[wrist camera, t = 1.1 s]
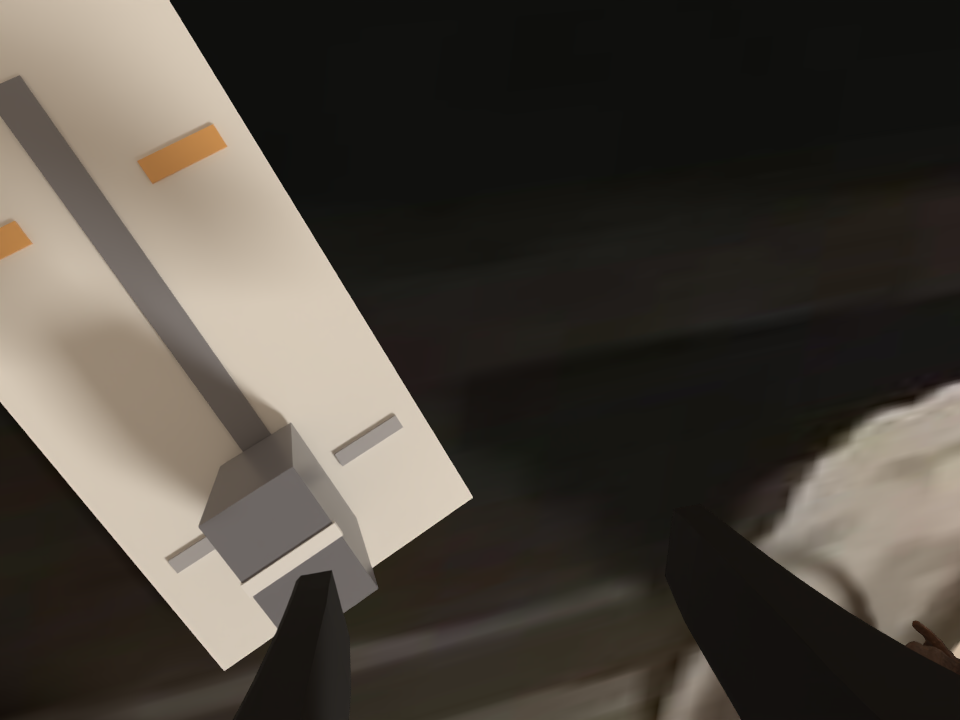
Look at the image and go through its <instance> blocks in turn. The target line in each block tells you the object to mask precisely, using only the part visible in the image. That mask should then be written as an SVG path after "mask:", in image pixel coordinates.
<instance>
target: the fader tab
mask: <svg viewBox="0 0 960 720" xmlns="http://www.w3.org/2000/svg"><path fill="white" fill-rule="evenodd" d="M198 527H199V529H200V530H201V531H202V532H203V534H204V535H205V536H206V537H207V539H208V540H209V541H210V543H211V544H212V545H213V546H214V548H215V549H216V550H217V552H218V553H219V554H220V555H221V557H222V558H223V559H224V561H225V562H226V563H227V564H228V566H229V567H230V568H231V570H232V571H233V572H234V573H235V575H236V576H237V577H238V579H239V580H240V581H241V587H242V589H243V590H244V591H245V592H246V594H247V595H248V596H249V598H251V597H253V598H254V599H255V600H256V602H257V603H258V604H259V606H260V607H261V608H262V609H263V611H264V612H265V613H266V615H267V616H268V617H269V618H270V620H271V621H272V622H273V624H274V625H275V626H276V627H277V629H278V626H279V624H280V622H281V619H282V617H283V614H284V612H285V609H286V607H287V604H288V602H289V599H290V596H291V594H292V591H293V588H294V585H295V583H296V580H297V579H298V578H299V577H300V576H301V575H307V574H312V573H318V572H324V571H329V570H332V572H333V576H334V580H335V584H336V588H337V591H338V595H339V599H340V603H341V607H342V610H343V613H344V612H346V611H347V610H348V609H350V608H351V607H353V606H354V605H356V604H357V603H358V602H360V601H361V600H363V599H364V598H365V597H367V596H368V595H370V594H371V593H373V592H374V591H375V590H377V589H378V586H377V582H376V579H375V576H374V573H373V570H372V566H371V563H370V560H369V557H368V553H367V550H366V547H365V544H364V540H363V537H362V534H361V531H360V528H359V524H358V521H357V518H356V516H355V515H354V514H353V512H352V511H351V509H350V508H349V506H348V505H347V503H346V502H345V500H344V499H343V497H342V496H341V495H340V493H339V492H338V490H337V489H336V487H335V486H334V484H333V483H332V481H331V480H330V478H329V477H328V476H327V474H326V473H325V471H324V470H323V468H322V467H321V465H320V464H319V462H318V461H317V459H316V458H315V457H314V455H313V454H312V452H311V451H310V449H309V448H308V446H307V445H306V443H305V442H304V441H303V439H302V438H301V436H300V435H299V433H298V432H297V430H296V429H295V427H294V426H293V424H292V423H289V424H287V425H286V426H284V427H283V428H281V429H279V430H278V431H276V432H274V433H273V434H271V435H270V436H268V437H266V438H265V439H263V440H262V441H260V442H258V443H257V444H255V445H253V446H252V447H250V448H249V449H247V450H245V451H244V452H242V453H240V454H239V455H237V456H236V457H234V458H232V459H231V460H229V461H228V462H226V463H224V464H223V465H221V466H220V468H219V471H218V473H217V476H216V479H215V482H214V484H213V487H212V490H211V493H210V495H209V498H208V501H207V504H206V506H205V509H204V512H203V515H202V517H201V520H200V523H199V526H198Z"/></svg>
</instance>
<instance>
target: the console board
mask: <svg viewBox="0 0 960 720" xmlns="http://www.w3.org/2000/svg"><path fill="white" fill-rule="evenodd" d="M0 402H1V403H2V404H3V406H4V407H5V408H6V409H7V410H8V412H9V413H10V414H11V415H12V416H13V418H14V419H15V420H16V421H17V422H18V424H19V425H20V426H21V427H22V428H23V430H24V431H25V432H26V433H27V434H28V436H29V437H30V438H31V439H32V441H33V442H34V443H35V444H36V445H37V447H38V448H39V449H40V450H41V451H42V453H43V454H44V455H45V456H46V457H47V459H48V460H49V461H50V462H51V463H52V465H53V466H54V467H55V468H56V469H57V471H58V472H59V473H60V474H61V475H62V477H63V478H64V479H65V480H66V481H67V483H68V484H69V485H70V486H71V487H72V489H73V490H74V491H75V492H76V493H77V495H78V496H79V497H80V498H81V499H82V501H83V502H84V503H85V504H86V505H87V507H88V508H89V509H90V510H91V511H92V513H93V514H94V515H95V516H96V517H97V519H98V520H99V521H100V522H101V523H102V525H103V526H104V527H105V528H106V529H107V531H108V532H109V533H110V534H111V535H112V537H113V538H114V539H115V540H116V541H117V543H118V544H119V545H120V546H121V547H122V549H123V550H124V551H125V552H126V553H127V555H128V556H129V557H130V558H131V560H132V561H133V562H134V563H135V564H136V566H137V567H138V568H139V569H140V570H141V572H142V573H143V574H144V575H145V576H146V578H147V579H148V580H149V581H150V582H151V584H152V585H153V586H154V587H155V588H156V590H157V591H158V592H159V593H160V594H161V596H162V597H163V598H164V599H165V600H166V602H167V603H168V604H169V605H170V606H171V608H172V609H173V610H174V611H175V612H176V614H177V615H178V616H179V617H180V618H181V620H182V621H183V622H184V623H185V624H186V626H187V627H188V628H189V629H190V630H191V632H192V633H193V634H194V635H195V636H196V638H197V639H198V640H199V641H200V642H201V644H202V645H203V646H204V647H205V648H206V650H207V651H208V652H209V653H210V654H211V656H212V657H213V658H214V659H215V660H216V662H217V663H218V664H219V665H220V666H221V668H222V669H223V670H224V671H225V670H226V669H228V668H229V667H231V666H232V665H233V664H235V663H236V662H238V661H239V660H241V659H242V658H244V657H245V656H246V655H248V654H249V653H251V652H252V651H254V650H255V649H256V648H258V647H259V646H261V645H262V644H264V643H265V642H266V641H268V640H269V639H271V638H272V637H274V635H275V633H276V631H277V627H276V626H275V625H274V624H273V622H272V621H271V620H270V618H269V617H268V616H267V615H266V613H265V612H264V611H263V609H262V608H261V607H260V606H259V604H258V603H257V602H256V600H255V599H254V598H253V597H251V598H249V596H248V595H247V594H246V592H245V591H244V590H243V589H242V587H241V581H240V580H239V579H238V577H237V576H236V575H235V573H234V572H233V571H232V570H231V568H230V567H229V566H228V564H227V563H226V562H225V561H224V559H223V558H222V557H221V555H220V554H219V553H218V552H217V550H216V549H215V548H214V546H213V545H212V544H211V543H210V541H209V540H208V539H207V537H206V536H205V535H204V534H203V532H202V531H201V530H200V529H199V527H198V526H199V523H200V520H201V517H202V515H203V512H204V509H205V506H206V504H207V501H208V498H209V495H210V493H211V490H212V487H213V484H214V482H215V479H216V476H217V473H218V471H219V468H220V466H221V465H223V464H224V463H226V462H228V461H229V460H231V459H232V458H234V457H236V456H237V455H239V454H240V453H242V452H244V451H245V450H247V449H249V448H250V447H252V446H253V445H255V444H257V443H258V442H260V441H262V440H263V439H265V438H266V437H268V436H270V435H271V434H273V433H274V432H276V431H278V430H279V429H281V428H283V427H284V426H286V425H287V424H289V423H292V424H293V426H294V427H295V429H296V430H297V432H298V433H299V435H300V436H301V438H302V439H303V441H304V442H305V443H306V445H307V446H308V448H309V449H310V451H311V452H312V454H313V455H314V457H315V458H316V459H317V461H318V462H319V464H320V465H321V467H322V468H323V470H324V471H325V473H326V474H327V476H328V477H329V478H330V480H331V481H332V483H333V484H334V486H335V487H336V489H337V490H338V492H339V493H340V495H341V496H342V497H343V499H344V500H345V502H346V503H347V505H348V506H349V508H350V509H351V511H352V512H353V514H354V515H355V516H356V518H357V521H358V524H359V528H360V531H361V534H362V537H363V540H364V544H365V547H366V550H367V553H368V557H369V560H370V563H371V566H372V568H373V567H374V566H375V565H377V564H378V563H380V562H381V561H383V560H384V559H385V558H387V557H388V556H390V555H391V554H393V553H394V552H395V551H397V550H398V549H400V548H401V547H403V546H404V545H406V544H407V543H408V542H410V541H411V540H413V539H414V538H416V537H417V536H418V535H420V534H421V533H423V532H424V531H426V530H427V529H428V528H430V527H431V526H433V525H434V524H436V523H437V522H438V521H440V520H441V519H443V518H444V517H446V516H447V515H449V514H450V513H451V512H453V511H454V510H456V509H457V508H459V507H460V506H461V505H463V504H464V503H466V502H467V501H469V500H470V499H471V498H473V497H472V495H471V493H470V492H469V490H468V488H467V487H466V485H465V483H464V482H463V480H462V479H461V477H460V475H459V474H458V472H457V470H456V469H455V467H454V465H453V464H452V462H451V461H450V459H449V457H448V456H447V454H446V452H445V451H444V449H443V448H442V446H441V444H440V443H439V441H438V439H437V438H436V436H435V434H434V433H433V431H432V430H431V428H430V426H429V425H428V423H427V421H426V420H425V418H424V416H423V415H422V413H421V412H420V410H419V408H418V407H417V405H416V403H415V402H414V400H413V398H412V397H411V395H410V394H409V392H408V390H407V389H406V387H405V385H404V384H403V382H402V380H401V379H400V377H399V376H398V374H397V372H396V371H395V369H394V367H393V366H392V364H391V363H390V361H389V359H388V358H387V356H386V354H385V353H384V351H383V349H382V348H381V346H380V345H379V343H378V341H377V340H376V338H375V336H374V335H373V333H372V331H371V330H370V328H369V327H368V325H367V323H366V322H365V320H364V318H363V317H362V315H361V313H360V312H359V310H358V309H357V307H356V305H355V304H354V302H353V300H352V299H351V297H350V295H349V294H348V292H347V291H346V289H345V287H344V286H343V284H342V282H341V281H340V279H339V278H338V276H337V274H336V273H335V271H334V269H333V268H332V266H331V264H330V263H329V261H328V260H327V258H326V256H325V255H324V253H323V251H322V250H321V248H320V246H319V245H318V243H317V242H316V240H315V238H314V237H313V235H312V233H311V232H310V230H309V228H308V227H307V225H306V224H305V222H304V220H303V219H302V217H301V215H300V214H299V212H298V210H297V209H296V207H295V206H294V204H293V202H292V201H291V199H290V197H289V196H288V194H287V192H286V191H285V189H284V188H283V186H282V184H281V183H280V181H279V179H278V178H277V176H276V175H275V173H274V171H273V170H272V168H271V166H270V165H269V163H268V161H267V160H266V158H265V157H264V155H263V153H262V152H261V150H260V148H259V147H258V145H257V143H256V142H255V140H254V139H253V137H252V135H251V134H250V132H249V130H248V129H247V127H246V125H245V124H244V122H243V121H242V119H241V117H240V116H239V114H238V112H237V111H236V109H235V107H234V106H233V104H232V103H231V101H230V99H229V98H228V96H227V94H226V93H225V91H224V90H223V88H222V86H221V85H220V83H219V81H218V80H217V78H216V76H215V75H214V73H213V72H212V70H211V68H210V67H209V65H208V63H207V62H206V60H205V58H204V57H203V55H202V54H201V52H200V50H199V49H198V47H197V45H196V44H195V42H194V40H193V39H192V37H191V36H190V34H189V32H188V31H187V29H186V27H185V26H184V24H183V22H182V21H181V19H180V18H179V16H178V14H177V13H176V11H175V9H174V8H173V6H172V5H171V3H170V1H169V0H0Z"/></svg>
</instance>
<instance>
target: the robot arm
mask: <svg viewBox="0 0 960 720" xmlns="http://www.w3.org/2000/svg"><path fill="white" fill-rule="evenodd" d="M665 577H666V579H667V582H668V584H669V586H670V589H671V591H672V594H673V596H674V598H675V601H676V603H677V605H678V608H679V610H680V612H681V614H682V616H683V619H684V621H685V623H686V625H687V626H688V628H689V630H690V632H691V634H692V635H693V637H694V639H695V641H696V642H697V644H698V646H699V648H700V649H701V651H702V653H703V655H704V656H705V658H706V660H707V661H708V663H709V665H710V667H711V668H712V670H713V672H714V673H715V675H716V677H717V679H718V680H719V682H720V684H721V685H722V687H723V689H724V691H725V692H726V694H727V696H728V697H729V699H730V701H731V703H732V704H733V706H734V708H735V709H736V711H737V713H738V715H739V716H740V718H741V720H960V675H959V674H957V673H955V672H953V671H951V670H949V669H947V668H945V667H943V666H941V665H939V664H938V663H936V662H934V661H932V660H930V659H928V658H926V657H924V656H922V655H921V654H919V653H917V652H915V651H913V650H911V649H910V648H908V647H906V646H904V645H903V644H901V643H899V642H898V641H896V640H894V639H892V638H891V637H889V636H887V635H886V634H884V633H882V632H880V631H879V630H877V629H875V628H874V627H872V626H870V625H869V624H867V623H865V622H864V621H862V620H860V619H859V618H857V617H856V616H854V615H852V614H851V613H849V612H848V611H846V610H845V609H843V608H842V607H840V606H839V605H837V604H836V603H834V602H833V601H831V600H830V599H828V598H827V597H825V596H824V595H822V594H821V593H819V592H818V591H816V590H815V589H813V588H812V587H810V586H809V585H807V584H806V583H805V582H803V581H802V580H800V579H799V578H797V577H796V576H795V575H793V574H792V573H791V572H789V571H788V570H786V569H785V568H784V567H782V566H781V565H780V564H778V563H777V562H775V561H774V560H773V559H771V558H770V557H769V556H767V555H766V554H765V553H763V552H762V551H761V550H759V549H758V548H757V547H756V546H754V545H753V544H752V543H750V542H749V541H748V540H746V539H745V538H744V537H742V536H741V535H740V534H739V533H737V532H736V531H735V530H733V529H732V528H731V527H730V526H728V525H727V524H726V523H724V522H723V521H722V520H721V519H719V518H718V517H717V516H715V515H714V514H713V513H712V512H710V511H709V510H708V509H706V508H705V507H704V506H702V505H701V504H697V505H691V506H686V507H680V508H675V509H673V516H672V524H671V532H670V540H669V548H668V556H667V564H666V572H665ZM350 696H351V671H350V638H349V633H348V629H347V626H346V622H345V618H344V614H343V610H342V607H341V603H340V599H339V595H338V591H337V588H336V584H335V580H334V576H333V572H332V570H329V571H324V572H318V573H312V574H307V575H301V576H300V577H299V578H298V579H297V580H296V583H295V585H294V588H293V591H292V594H291V596H290V599H289V602H288V604H287V607H286V609H285V612H284V614H283V617H282V619H281V622H280V624H279V626H278V629H277V631H276V633H275V635H274V638H273V640H272V642H271V645H270V647H269V649H268V651H267V653H266V655H265V657H264V659H263V661H262V664H261V666H260V668H259V670H258V672H257V674H256V676H255V678H254V680H253V682H252V684H251V686H250V688H249V690H248V692H247V694H246V696H245V698H244V700H243V702H242V704H241V706H240V707H239V709H238V711H237V713H236V715H235V717H234V719H233V720H349V710H350Z"/></svg>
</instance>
